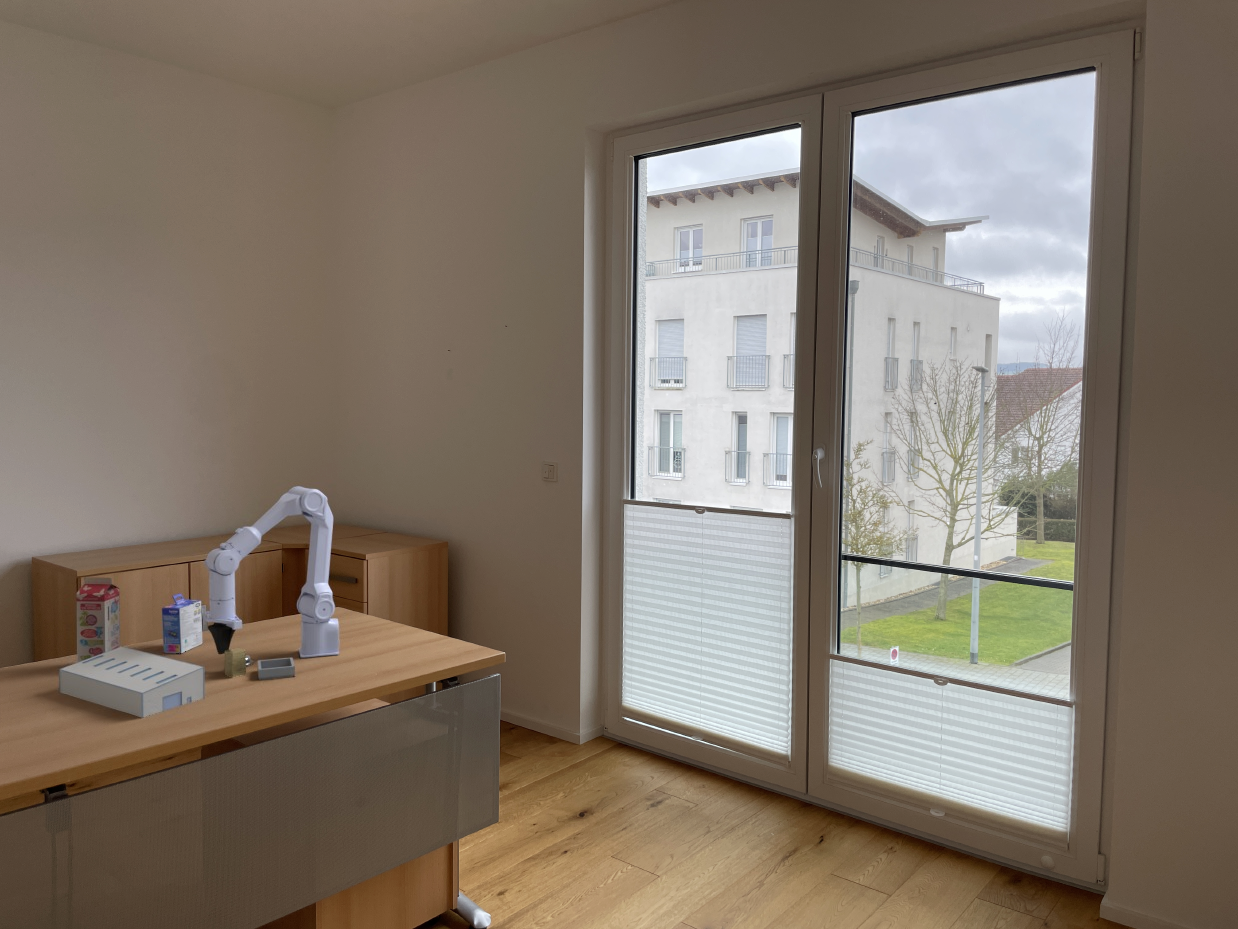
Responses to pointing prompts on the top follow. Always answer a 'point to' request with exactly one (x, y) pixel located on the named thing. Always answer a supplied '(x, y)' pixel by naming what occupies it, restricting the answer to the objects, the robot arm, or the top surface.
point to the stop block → (235, 662)
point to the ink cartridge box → (182, 625)
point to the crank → (247, 658)
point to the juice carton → (97, 617)
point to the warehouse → (133, 681)
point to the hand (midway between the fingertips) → (223, 653)
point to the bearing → (249, 663)
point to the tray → (276, 668)
